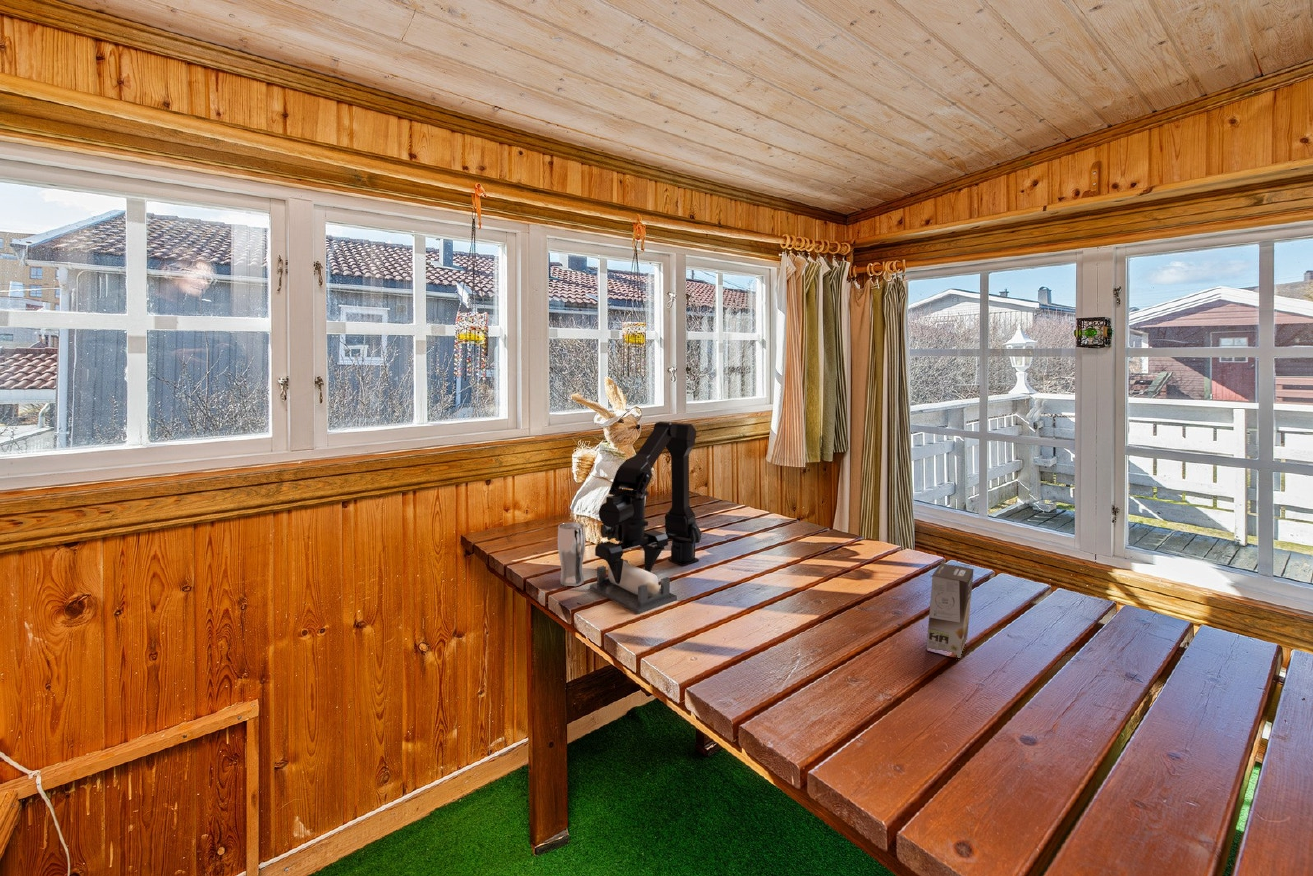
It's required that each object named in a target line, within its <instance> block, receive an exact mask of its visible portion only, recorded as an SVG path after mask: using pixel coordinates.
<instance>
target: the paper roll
mask: <svg viewBox="0 0 1313 876" xmlns="http://www.w3.org/2000/svg"><path fill="white" fill-rule="evenodd" d="M607 572H608V573H607V577H608V578H609V580H610V582H612V583H613V584H616V585H618V586H620V587H622V588H624V589H626V590H628V591H630V592H632V593H634V594H636V595H638V586H641V585H644V584H645V585H647V597H649V596H652V595H654V594H657V593H658V592H659V589H661V585H659V579H658V577H657V575H656V574H654V573H652V572H651V571H650V572H648V571H645V569H643V568H640V567H638V566H636V565H633V564H631V563H629V562H628V563H627V562H624V561H623V567H622V574H621V580H620V583H619V584H617V583H616V582H615V579H614V577H613V574H612V571H611V569H610V566H609V565H608V567H607Z"/></svg>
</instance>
